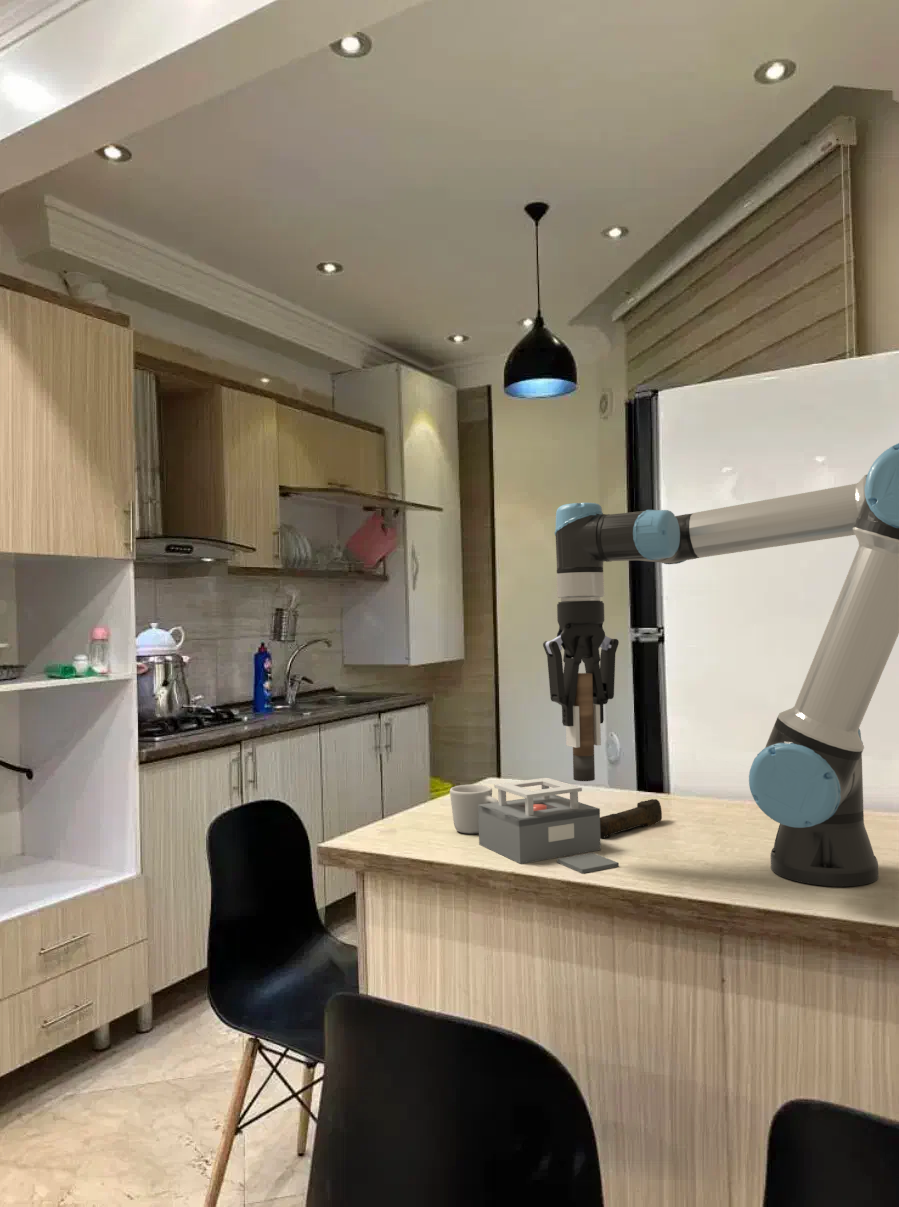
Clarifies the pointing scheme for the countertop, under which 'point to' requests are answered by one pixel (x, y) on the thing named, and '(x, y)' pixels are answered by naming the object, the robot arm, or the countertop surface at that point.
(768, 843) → the countertop surface
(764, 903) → the countertop surface
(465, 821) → the cup
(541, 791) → the framed red button box
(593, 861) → the pad
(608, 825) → the hand tool
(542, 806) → the plunger
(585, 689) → the brown wooden rod
